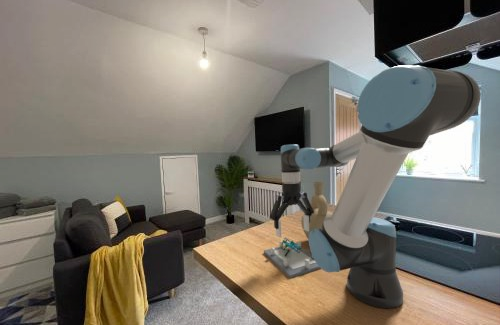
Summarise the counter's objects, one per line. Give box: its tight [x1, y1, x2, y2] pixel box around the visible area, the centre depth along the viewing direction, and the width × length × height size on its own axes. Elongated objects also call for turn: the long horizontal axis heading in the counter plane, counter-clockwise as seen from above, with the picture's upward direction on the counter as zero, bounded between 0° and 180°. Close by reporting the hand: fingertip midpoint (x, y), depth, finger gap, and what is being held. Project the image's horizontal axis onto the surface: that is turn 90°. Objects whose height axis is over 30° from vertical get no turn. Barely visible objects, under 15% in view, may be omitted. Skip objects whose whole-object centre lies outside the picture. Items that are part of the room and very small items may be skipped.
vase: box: [300, 181, 333, 241], centre depth 100 cm, size 17×17×30 cm
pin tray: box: [263, 240, 322, 279], centre depth 87 cm, size 21×17×4 cm
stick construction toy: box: [282, 237, 301, 257], centre depth 90 cm, size 12×7×8 cm
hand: (293, 233), depth 86 cm, fingers open, 13 cm apart
